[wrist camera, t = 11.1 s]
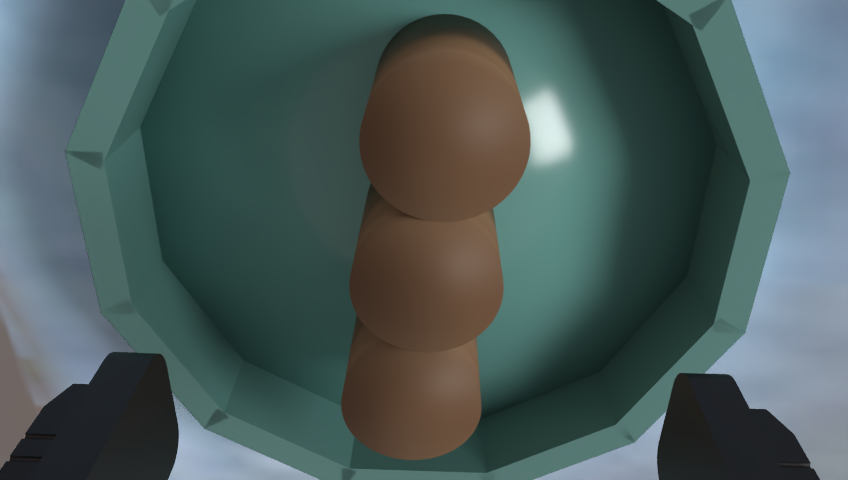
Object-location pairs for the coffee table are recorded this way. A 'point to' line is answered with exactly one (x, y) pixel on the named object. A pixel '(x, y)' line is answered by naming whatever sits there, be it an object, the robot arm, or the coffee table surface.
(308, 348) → the tray
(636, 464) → the coffee table surface
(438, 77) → the brown triple cylinder block
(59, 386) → the coffee table surface
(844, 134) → the coffee table surface
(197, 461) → the coffee table surface
